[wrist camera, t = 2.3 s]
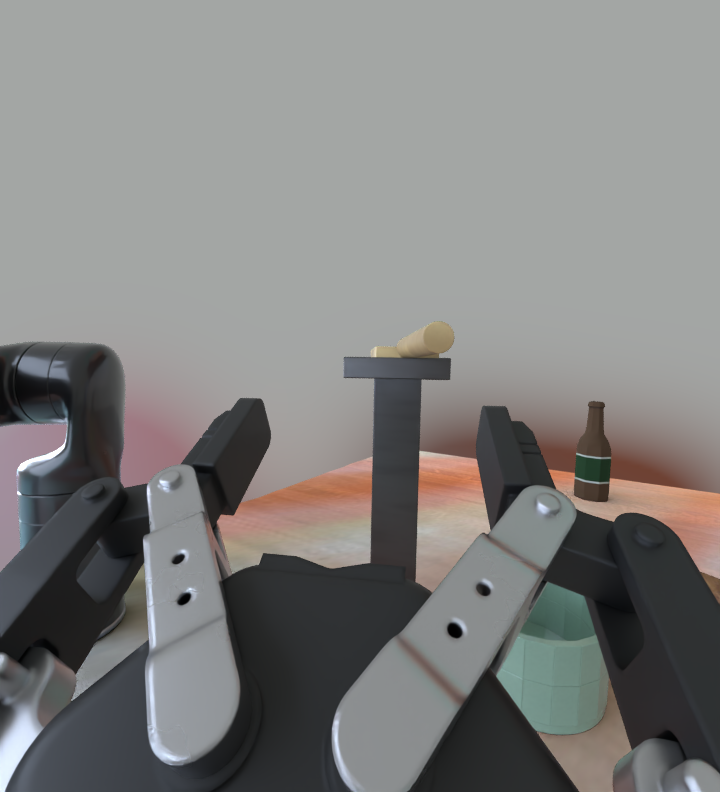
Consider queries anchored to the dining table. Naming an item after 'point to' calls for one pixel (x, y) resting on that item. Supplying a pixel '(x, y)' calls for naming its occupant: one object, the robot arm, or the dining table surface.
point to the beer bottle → (593, 458)
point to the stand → (396, 451)
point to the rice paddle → (420, 343)
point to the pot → (557, 666)
